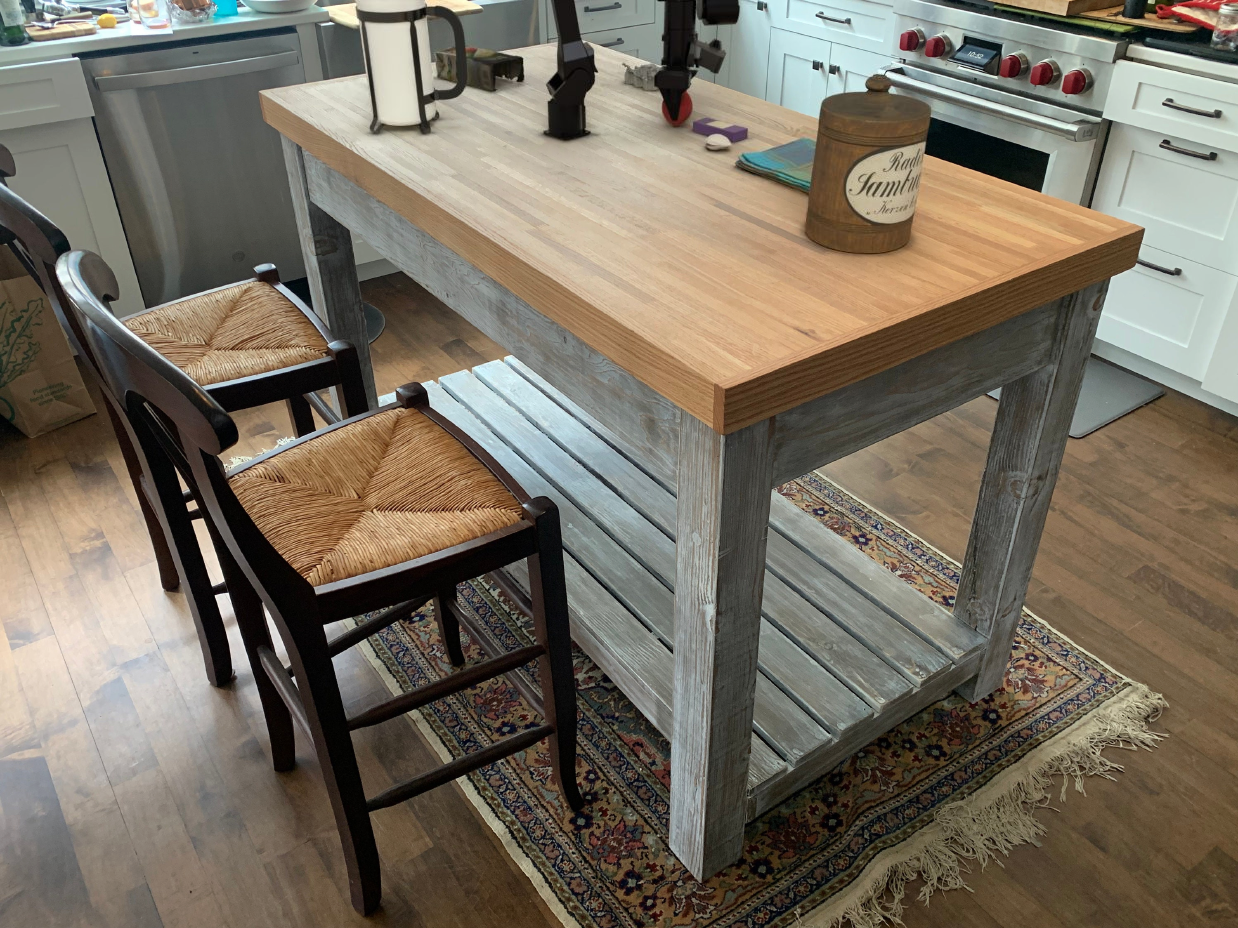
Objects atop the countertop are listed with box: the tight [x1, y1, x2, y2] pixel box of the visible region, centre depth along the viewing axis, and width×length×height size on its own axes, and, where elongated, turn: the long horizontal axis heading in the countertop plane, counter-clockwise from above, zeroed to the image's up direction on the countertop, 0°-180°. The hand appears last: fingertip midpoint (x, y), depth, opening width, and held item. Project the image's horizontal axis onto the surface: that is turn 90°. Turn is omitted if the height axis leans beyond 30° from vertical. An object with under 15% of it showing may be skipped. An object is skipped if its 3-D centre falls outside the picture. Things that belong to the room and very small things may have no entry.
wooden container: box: [804, 73, 932, 254], centre depth 136 cm, size 15×15×22 cm
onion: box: [661, 91, 694, 128], centre depth 184 cm, size 6×6×8 cm
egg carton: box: [621, 62, 662, 91], centre depth 212 cm, size 11×8×4 cm
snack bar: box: [691, 117, 749, 144], centre depth 182 cm, size 10×4×2 cm, turn 44°
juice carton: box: [434, 44, 525, 92], centre depth 214 cm, size 20×10×6 cm, turn 48°
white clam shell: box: [705, 134, 733, 151], centre depth 174 cm, size 4×5×2 cm
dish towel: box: [734, 137, 816, 194], centre depth 162 cm, size 17×23×2 cm
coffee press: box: [354, 0, 467, 135], centre depth 179 cm, size 17×16×30 cm
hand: (676, 116), depth 186 cm, fingers closed on onion, 6 cm apart
